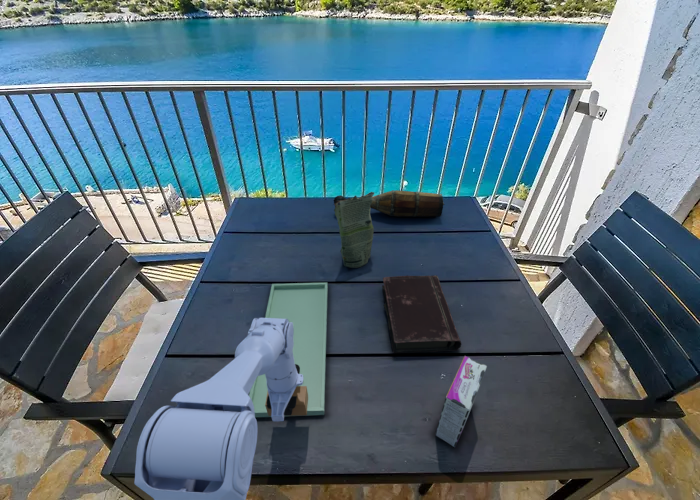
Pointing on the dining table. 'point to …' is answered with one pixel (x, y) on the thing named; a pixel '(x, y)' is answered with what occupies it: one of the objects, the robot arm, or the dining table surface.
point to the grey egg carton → (460, 400)
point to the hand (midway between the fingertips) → (287, 403)
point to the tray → (300, 340)
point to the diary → (418, 315)
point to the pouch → (355, 229)
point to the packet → (300, 402)
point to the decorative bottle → (405, 203)
